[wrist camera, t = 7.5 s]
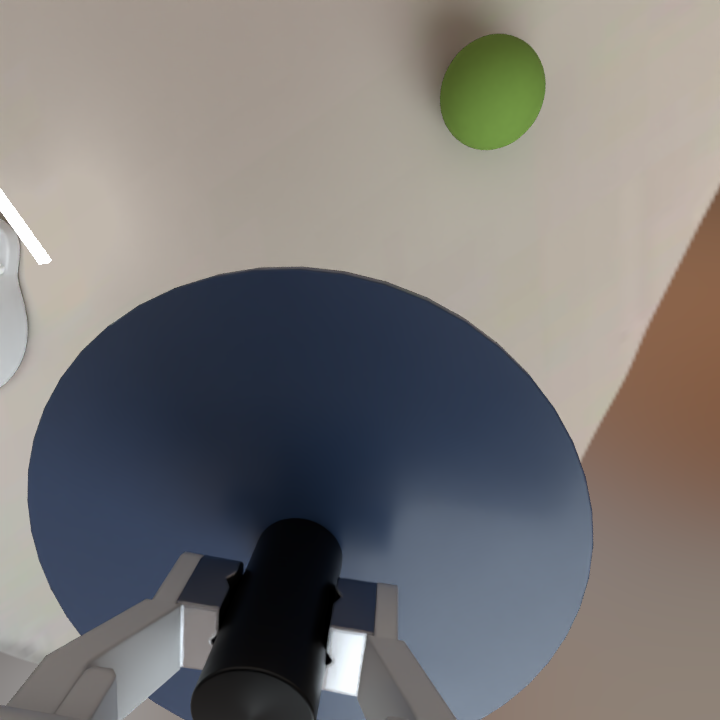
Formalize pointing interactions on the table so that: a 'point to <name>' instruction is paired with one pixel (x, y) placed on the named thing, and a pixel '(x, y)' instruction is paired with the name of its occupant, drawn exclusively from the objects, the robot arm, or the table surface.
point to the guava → (492, 91)
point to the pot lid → (314, 486)
